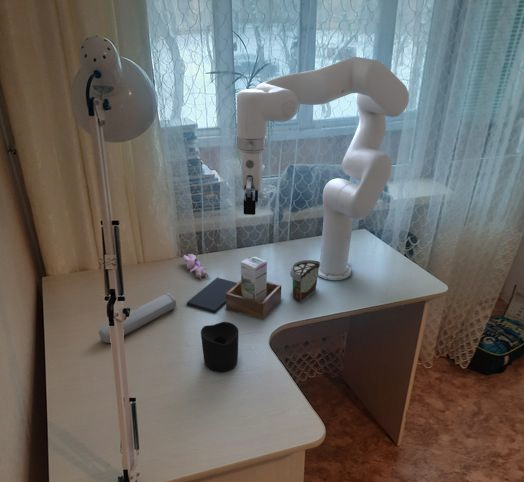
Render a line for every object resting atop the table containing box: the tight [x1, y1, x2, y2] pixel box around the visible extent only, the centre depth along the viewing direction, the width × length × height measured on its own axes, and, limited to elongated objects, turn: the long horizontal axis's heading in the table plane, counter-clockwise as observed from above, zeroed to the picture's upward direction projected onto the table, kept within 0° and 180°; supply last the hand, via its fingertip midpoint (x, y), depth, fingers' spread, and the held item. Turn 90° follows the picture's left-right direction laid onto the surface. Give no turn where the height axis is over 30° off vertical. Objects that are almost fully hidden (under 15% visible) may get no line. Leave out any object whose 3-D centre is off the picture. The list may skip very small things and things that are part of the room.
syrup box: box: [240, 255, 268, 302], centre depth 149 cm, size 6×6×14 cm
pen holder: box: [200, 321, 239, 373], centre depth 127 cm, size 9×9×10 cm
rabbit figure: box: [182, 253, 209, 281], centre depth 169 cm, size 6×6×15 cm
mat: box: [186, 277, 238, 314], centre depth 158 cm, size 18×10×1 cm, turn 153°
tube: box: [98, 291, 177, 344], centre depth 142 cm, size 5×5×25 cm
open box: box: [225, 280, 282, 320], centre depth 152 cm, size 13×13×5 cm
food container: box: [289, 259, 320, 304], centre depth 157 cm, size 12×6×10 cm, turn 145°
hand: (250, 207), depth 139 cm, fingers open, 9 cm apart
